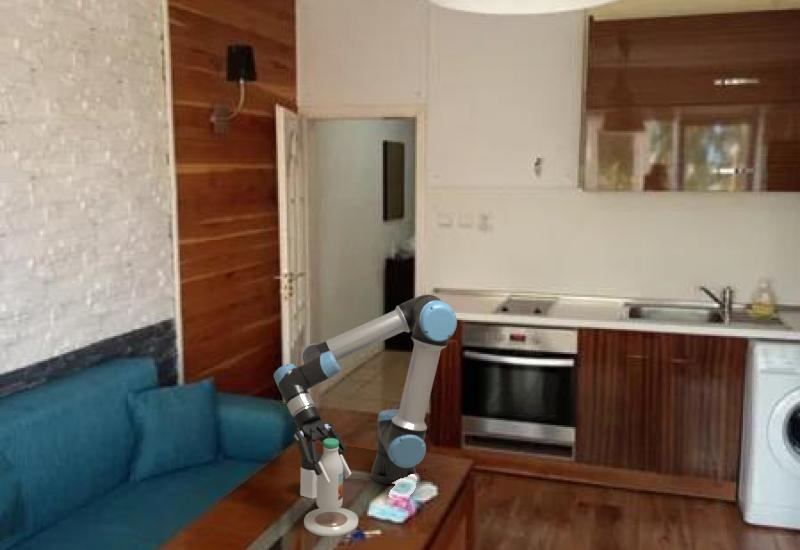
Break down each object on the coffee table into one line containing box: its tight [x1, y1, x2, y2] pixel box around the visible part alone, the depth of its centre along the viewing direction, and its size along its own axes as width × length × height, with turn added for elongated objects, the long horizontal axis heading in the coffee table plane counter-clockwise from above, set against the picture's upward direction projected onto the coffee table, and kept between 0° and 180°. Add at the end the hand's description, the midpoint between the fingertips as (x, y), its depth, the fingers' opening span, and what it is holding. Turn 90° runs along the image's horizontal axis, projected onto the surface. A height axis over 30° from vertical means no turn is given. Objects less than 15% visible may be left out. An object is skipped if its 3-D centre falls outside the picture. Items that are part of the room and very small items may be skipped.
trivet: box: [303, 507, 359, 538], centre depth 227 cm, size 16×16×1 cm
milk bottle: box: [315, 438, 344, 510], centre depth 224 cm, size 8×8×20 cm
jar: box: [299, 452, 323, 500], centre depth 246 cm, size 9×8×12 cm
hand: (337, 479), depth 222 cm, fingers closed on milk bottle, 7 cm apart
